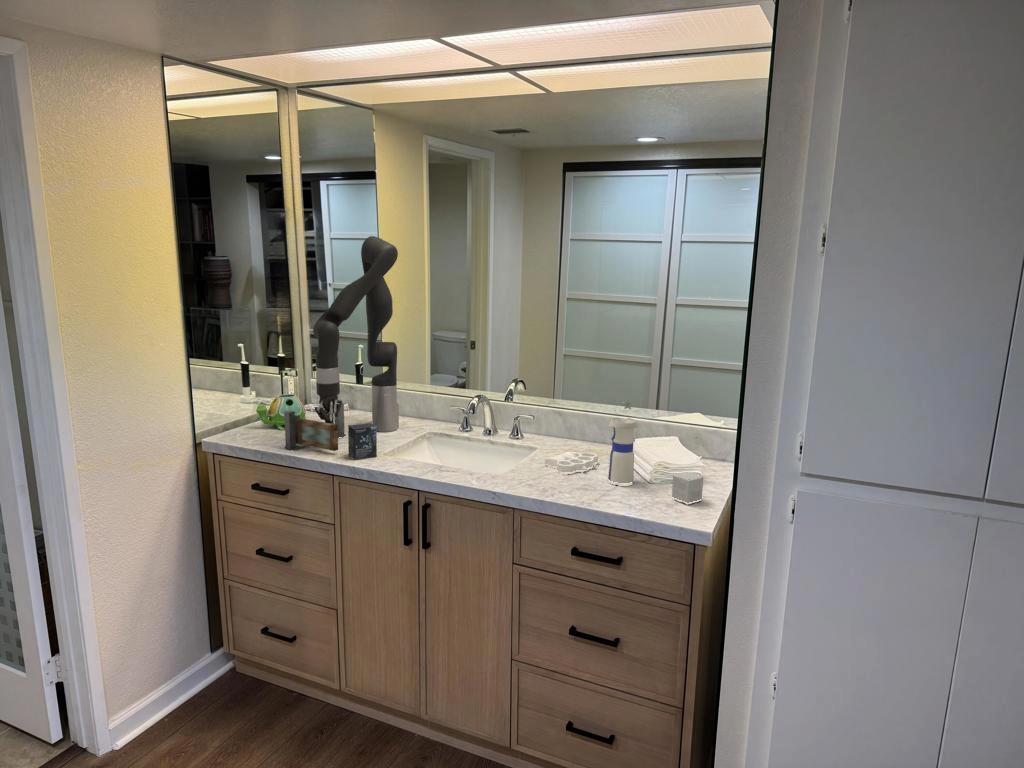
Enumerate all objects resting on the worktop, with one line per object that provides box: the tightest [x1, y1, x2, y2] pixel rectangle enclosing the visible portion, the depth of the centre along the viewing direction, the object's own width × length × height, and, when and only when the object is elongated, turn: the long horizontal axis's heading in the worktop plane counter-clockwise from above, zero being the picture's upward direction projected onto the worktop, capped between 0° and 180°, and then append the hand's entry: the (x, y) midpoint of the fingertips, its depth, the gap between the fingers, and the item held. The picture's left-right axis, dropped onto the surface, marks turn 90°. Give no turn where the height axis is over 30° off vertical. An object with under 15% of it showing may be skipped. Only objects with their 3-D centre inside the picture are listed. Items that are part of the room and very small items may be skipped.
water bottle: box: [607, 398, 638, 483], centre depth 210 cm, size 8×8×25 cm
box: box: [347, 422, 378, 461], centre depth 231 cm, size 8×6×11 cm
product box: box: [671, 471, 704, 503], centre depth 197 cm, size 6×6×7 cm
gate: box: [295, 415, 339, 452], centre depth 236 cm, size 18×2×10 cm, turn 63°
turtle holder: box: [255, 393, 307, 431], centre depth 265 cm, size 12×18×12 cm
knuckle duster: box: [544, 451, 599, 472], centre depth 226 cm, size 3×18×15 cm
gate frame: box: [284, 402, 347, 451], centre depth 246 cm, size 24×5×13 cm, turn 146°
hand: (329, 430), depth 237 cm, fingers closed
